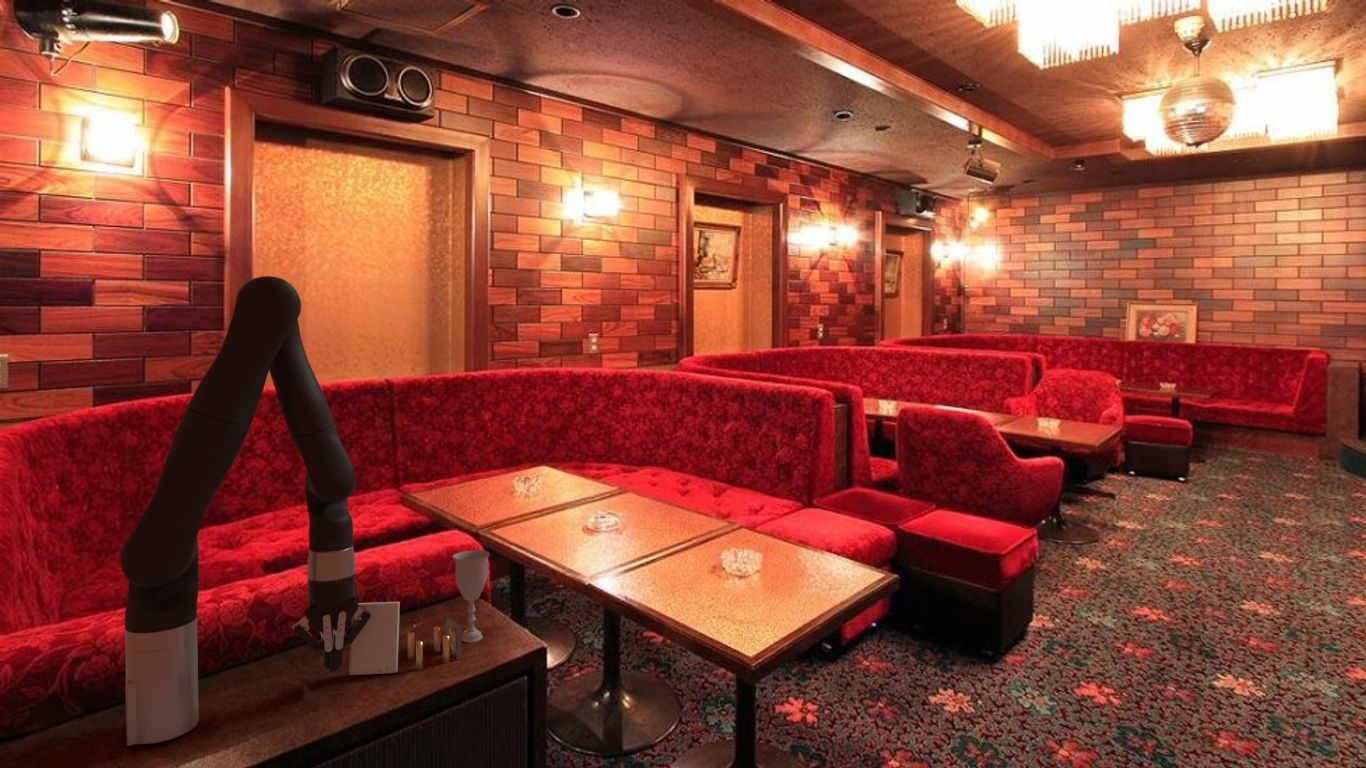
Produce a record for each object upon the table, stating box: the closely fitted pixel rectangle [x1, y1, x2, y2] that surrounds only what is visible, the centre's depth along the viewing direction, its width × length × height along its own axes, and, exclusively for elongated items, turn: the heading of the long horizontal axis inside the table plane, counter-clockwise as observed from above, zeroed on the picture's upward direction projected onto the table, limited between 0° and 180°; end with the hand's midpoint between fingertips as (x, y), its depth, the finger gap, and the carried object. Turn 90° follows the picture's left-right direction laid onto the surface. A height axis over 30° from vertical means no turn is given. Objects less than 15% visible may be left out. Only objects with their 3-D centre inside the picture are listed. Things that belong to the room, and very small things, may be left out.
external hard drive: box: [348, 601, 401, 676], centre depth 132 cm, size 2×8×12 cm, turn 98°
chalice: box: [452, 549, 490, 644], centre depth 145 cm, size 7×7×18 cm
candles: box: [407, 617, 463, 671], centre depth 137 cm, size 9×6×6 cm
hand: (332, 669), depth 127 cm, fingers closed
